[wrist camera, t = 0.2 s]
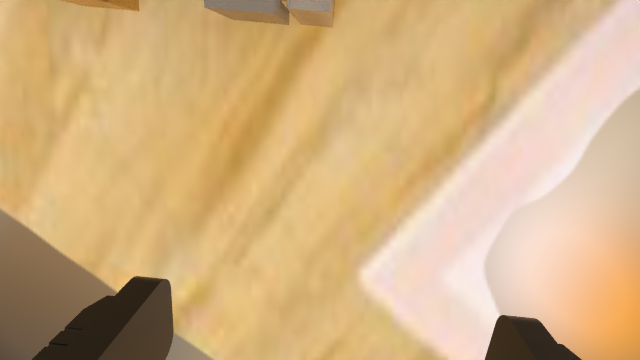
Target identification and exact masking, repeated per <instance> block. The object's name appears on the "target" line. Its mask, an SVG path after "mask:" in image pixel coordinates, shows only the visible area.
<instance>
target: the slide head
mask: <svg viewBox="0 0 640 360" xmlns="http://www.w3.org/2000/svg"><path fill="white" fill-rule="evenodd" d="M61 1H65V2H69V3H73V4H78V5H82V6H88V7H99V8H110V9H121V10H131V11H139V0H61Z"/></svg>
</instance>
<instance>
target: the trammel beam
mask: <svg viewBox="0 0 640 360" xmlns="http://www.w3.org/2000/svg"><path fill="white" fill-rule="evenodd" d="M283 1H287V8H286V7H285V5H284V4H283V3H282V0H204V7H205V8H208V9H210V10H212V11H214V12H217V13H219V14H221V15H224V16H226V17H228V18H230V19H233V20H240V21H251V22H262V23H273V24H284V25H289V12H290V13H291V14H292V15H293V16H294V17H295V18H296V19H297V21H298V22H299V23H300V24H303V25H314V26H325V27H332V25H333V14H334V4H335V0H283Z"/></svg>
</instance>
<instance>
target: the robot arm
mask: <svg viewBox="0 0 640 360" xmlns="http://www.w3.org/2000/svg"><path fill="white" fill-rule="evenodd" d="M172 338H173V314H172V298H171V285H170V282H169V281H168V280H167V279H159V278H149V277H139V276H136V277H133V278H132V279H131V280H130V281H129V282H128V283H127V284H126V285H125V286H124V287H123V288H122V289H121V290H120V291H119V292H118V293H117V294H116V295H115V296H106V297H104V298H102V299H101V300H99V301H97V302H95V303H94V304H92V305H90V306H88V307H87V308H85V309H83V311H81V313H79V314H78V315H77V316H76V317H75V318H74V319H73V320H72V321H71V322H70V323H69V324H68V325H67V326H66V327H65V330H64V331H61V332H60V333H59V334H58V335H57V336H56V337H55V338H54V339H52V340H51V341H50V342H49V346H48V347H44V348H43V349H42V350H41V351H40V352H39V353H38V354H37V355H36V356H35V357H34V358H33V359H32V360H165V359H166V357H167V355H168V353H169V350H170V347H171V343H172ZM485 360H581V359H580V358H579V357H578V356H576V355H575V354H574V353H572V352H571V351H570V350H569V349H568V348H566V347H565V346H564V345H562V344H557V342H556V341H555V340H554V338H553V337H552V336H551V335H550V333H549V332H548V331H547V329H546V328H545V327H544V326H543V324H542V323H541V322H540V321H539V320H537V319H534V318H526V317H516V316H506V315H502V316H500V317H499V318H498V319H497V322H496V324H495V328H494V331H493V334H492V338H491V341H490V344H489V347H488V351H487V354H486V357H485Z"/></svg>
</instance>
